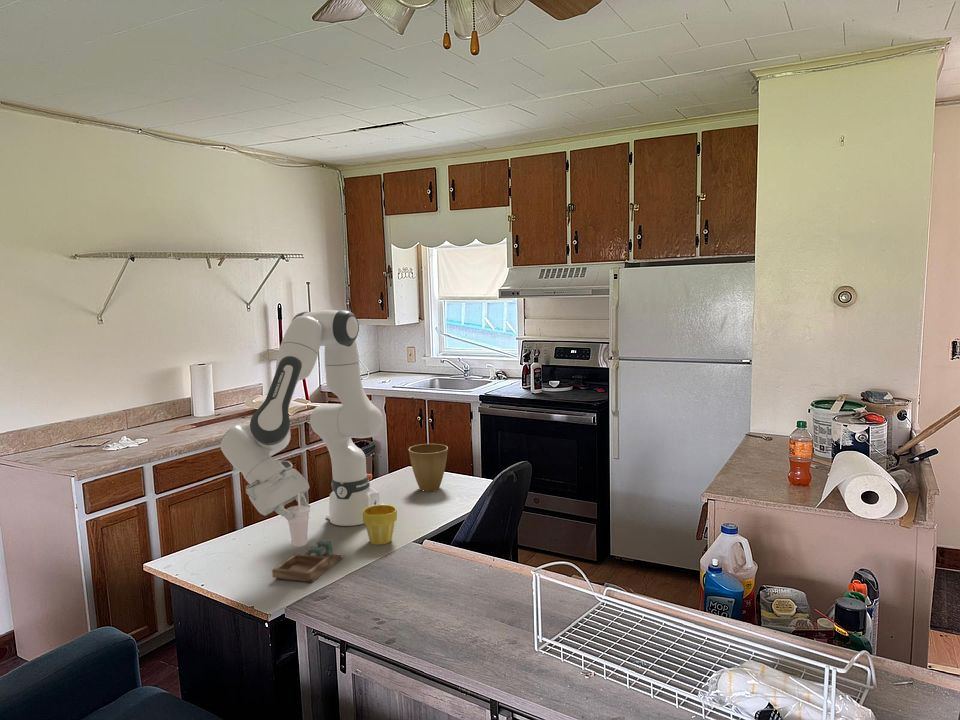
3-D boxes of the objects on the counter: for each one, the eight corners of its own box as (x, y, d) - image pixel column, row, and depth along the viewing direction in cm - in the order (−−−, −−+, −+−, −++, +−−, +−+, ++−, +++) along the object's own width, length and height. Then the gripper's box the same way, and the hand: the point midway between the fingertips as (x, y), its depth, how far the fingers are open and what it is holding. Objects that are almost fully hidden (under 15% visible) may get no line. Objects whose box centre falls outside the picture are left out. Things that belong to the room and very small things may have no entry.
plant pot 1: (405, 538, 207) (403, 507, 206) (382, 549, 198) (380, 517, 197) (380, 532, 213) (378, 502, 212) (356, 543, 204) (355, 511, 203)
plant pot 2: (405, 494, 251) (403, 452, 250) (416, 483, 266) (414, 443, 264) (444, 495, 249) (442, 453, 247) (453, 483, 263) (451, 443, 261)
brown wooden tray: (311, 552, 198) (310, 538, 197) (344, 555, 195) (343, 541, 194) (272, 580, 179) (271, 565, 179) (309, 584, 176) (308, 569, 176)
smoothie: (305, 548, 178) (302, 497, 177) (283, 547, 179) (279, 496, 178) (315, 539, 184) (313, 490, 183) (293, 538, 186) (291, 489, 184)
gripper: (249, 479, 172) (285, 519, 170) (293, 459, 191) (325, 495, 190) (235, 495, 174) (270, 534, 172) (280, 474, 193) (312, 509, 191)
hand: (300, 513), depth 181 cm, fingers closed on smoothie, 6 cm apart
